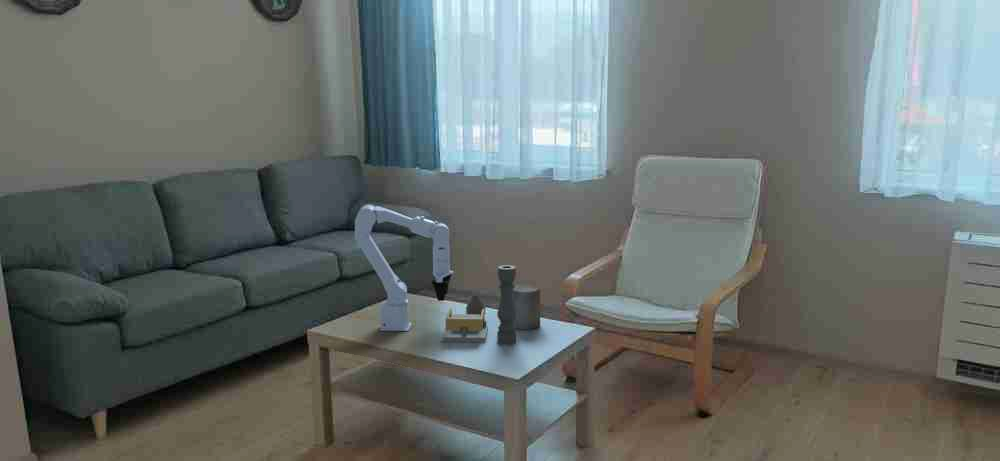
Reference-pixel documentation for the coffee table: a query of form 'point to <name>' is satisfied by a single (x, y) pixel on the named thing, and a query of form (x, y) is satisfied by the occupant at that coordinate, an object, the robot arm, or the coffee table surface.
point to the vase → (475, 306)
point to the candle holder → (506, 306)
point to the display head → (466, 332)
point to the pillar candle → (527, 306)
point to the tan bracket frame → (464, 322)
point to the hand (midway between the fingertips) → (442, 297)
